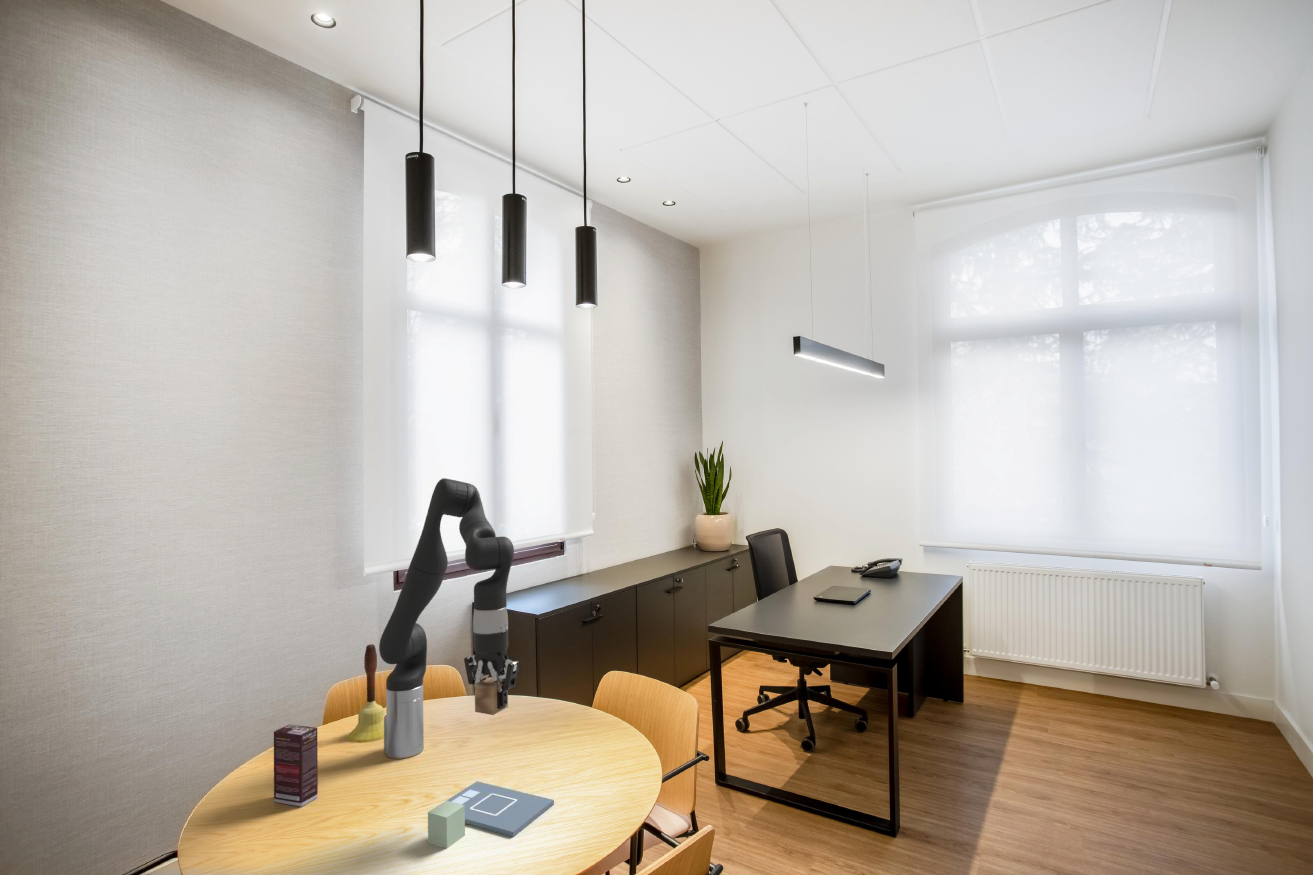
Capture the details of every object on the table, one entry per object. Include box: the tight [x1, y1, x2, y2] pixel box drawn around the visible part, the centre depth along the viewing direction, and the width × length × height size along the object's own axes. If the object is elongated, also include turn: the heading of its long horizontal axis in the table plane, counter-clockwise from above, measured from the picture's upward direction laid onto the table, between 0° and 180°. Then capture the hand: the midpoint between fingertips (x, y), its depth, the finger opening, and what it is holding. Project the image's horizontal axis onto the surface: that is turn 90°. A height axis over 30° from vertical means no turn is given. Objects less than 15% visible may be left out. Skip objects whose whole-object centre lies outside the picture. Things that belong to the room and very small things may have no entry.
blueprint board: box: [445, 780, 555, 838], centre depth 144 cm, size 22×14×1 cm, turn 63°
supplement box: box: [273, 724, 319, 808], centre depth 151 cm, size 9×5×16 cm, turn 71°
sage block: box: [427, 800, 466, 849], centre depth 133 cm, size 5×5×6 cm
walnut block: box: [474, 676, 509, 716], centre depth 145 cm, size 5×5×6 cm
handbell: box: [347, 643, 385, 744], centre depth 189 cm, size 12×12×25 cm
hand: (491, 705), depth 145 cm, fingers closed on walnut block, 5 cm apart
